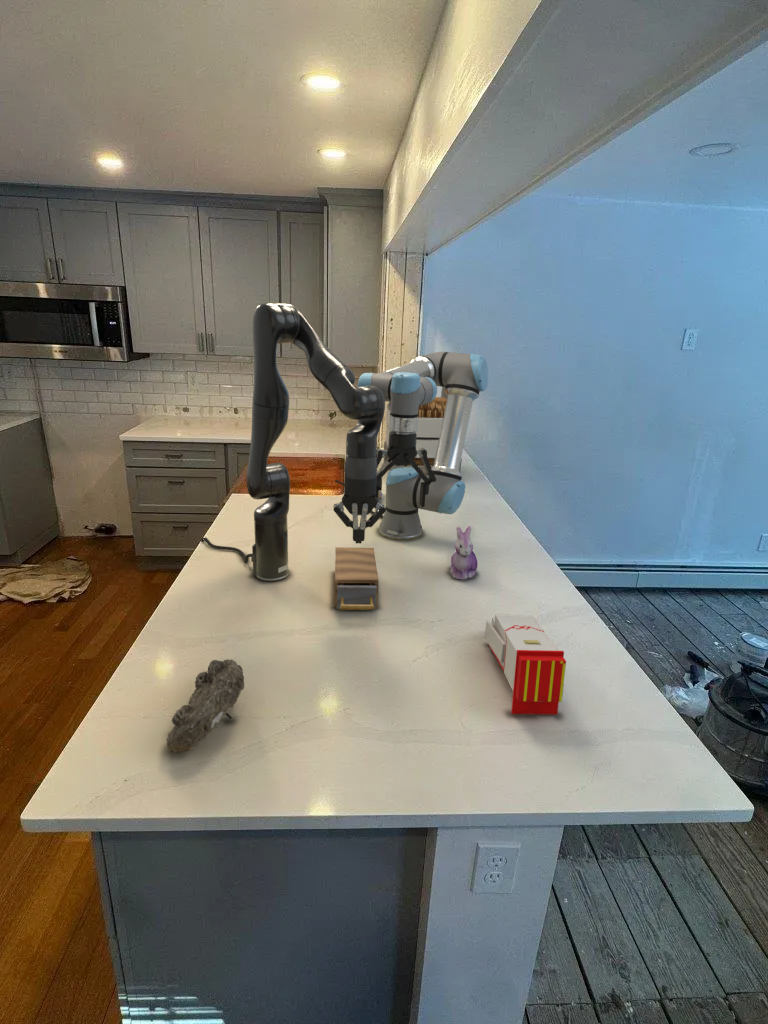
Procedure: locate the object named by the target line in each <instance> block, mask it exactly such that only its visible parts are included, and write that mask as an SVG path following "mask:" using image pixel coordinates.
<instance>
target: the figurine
mask: <svg viewBox="0 0 768 1024" xmlns="http://www.w3.org/2000/svg"><path fill="white" fill-rule="evenodd" d="M471 533H472V526H471V525H468V526H467V527H466V529H465V530H464V532H463V530H462V528H461V527H460V526H457V527H456V538H457V540H456V542H455V543H454V550H455V552H454V553H453V554H452V555H451V558H450V559H451V560H450V567H449V573H450V574H451V575H452V578H454V579H458V580H467V579H471V578H473V577H474V576H475V575H476V573H477V569H478V564H479V563H478V559H477V555H476V553H475V552H474V543H473V541H472V539H471Z"/></svg>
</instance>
